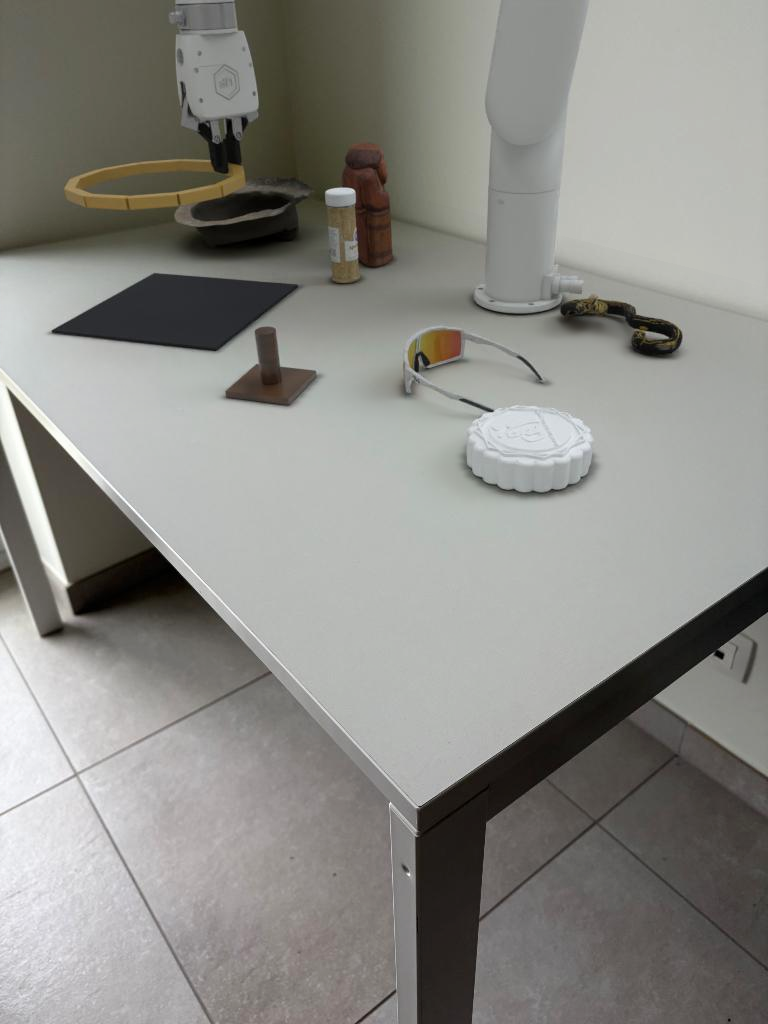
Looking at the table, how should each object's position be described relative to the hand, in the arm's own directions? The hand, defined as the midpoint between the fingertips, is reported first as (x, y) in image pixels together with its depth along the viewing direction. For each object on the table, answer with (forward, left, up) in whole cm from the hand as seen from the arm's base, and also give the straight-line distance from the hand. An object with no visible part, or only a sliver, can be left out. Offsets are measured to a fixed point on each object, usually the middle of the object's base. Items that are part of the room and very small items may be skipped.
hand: (227, 170), depth 114 cm
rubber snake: (-57, +4, -18) cm, 59 cm away
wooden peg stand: (-20, +30, -17) cm, 40 cm away
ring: (+5, +9, -1) cm, 11 cm away
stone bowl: (+13, -26, -18) cm, 34 cm away
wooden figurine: (-14, -20, -18) cm, 30 cm away
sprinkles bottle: (-14, -9, -18) cm, 24 cm away
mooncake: (-52, +39, -18) cm, 67 cm away
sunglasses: (-42, +24, -18) cm, 51 cm away
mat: (+5, +9, -17) cm, 21 cm away
